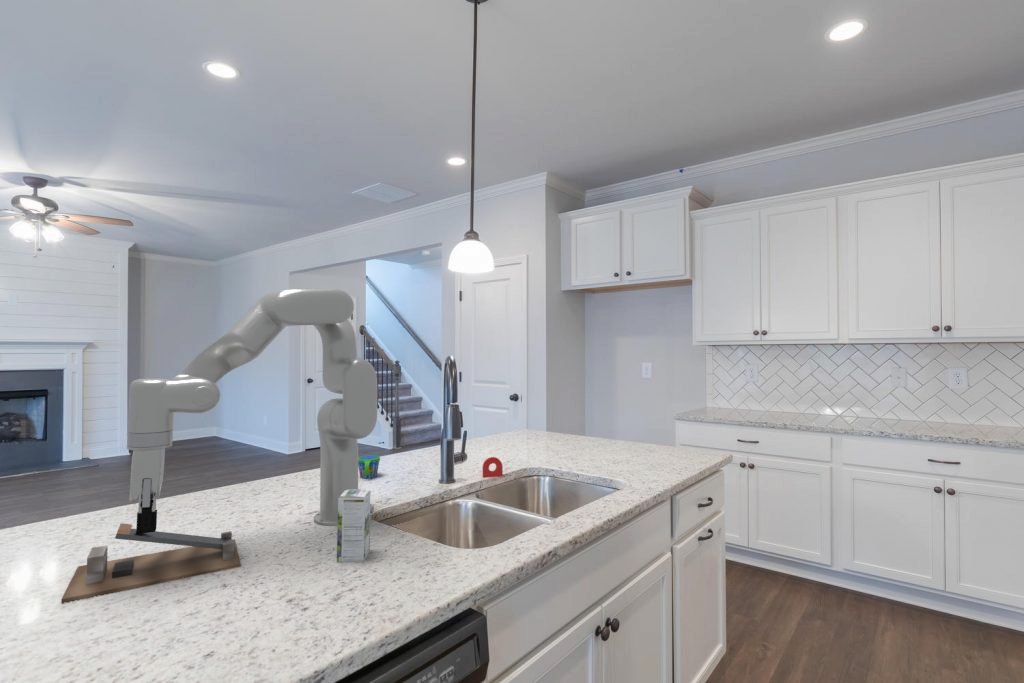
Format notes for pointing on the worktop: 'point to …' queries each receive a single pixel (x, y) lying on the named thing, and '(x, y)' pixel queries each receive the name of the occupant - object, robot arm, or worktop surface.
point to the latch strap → (170, 538)
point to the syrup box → (353, 525)
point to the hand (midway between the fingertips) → (146, 531)
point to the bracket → (496, 472)
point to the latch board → (147, 569)
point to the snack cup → (368, 466)
